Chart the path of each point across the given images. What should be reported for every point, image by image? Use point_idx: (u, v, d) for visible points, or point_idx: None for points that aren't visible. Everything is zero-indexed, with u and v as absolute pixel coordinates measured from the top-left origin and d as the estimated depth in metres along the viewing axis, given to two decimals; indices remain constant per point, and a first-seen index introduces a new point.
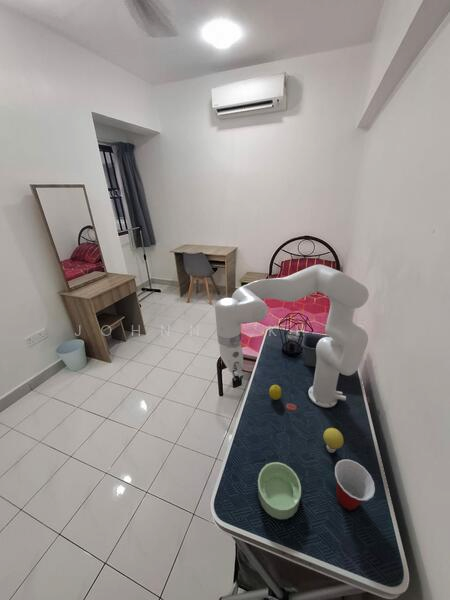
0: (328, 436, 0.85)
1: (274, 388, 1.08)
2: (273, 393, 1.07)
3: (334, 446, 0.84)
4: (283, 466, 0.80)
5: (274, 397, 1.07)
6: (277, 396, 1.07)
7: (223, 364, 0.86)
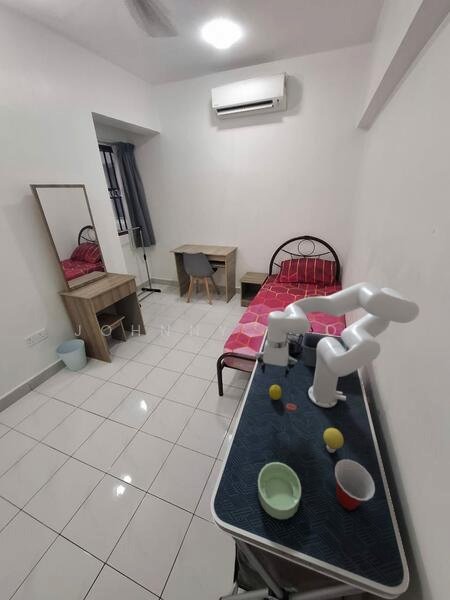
0: (328, 436, 0.85)
1: (274, 388, 1.08)
2: (273, 393, 1.07)
3: (334, 446, 0.84)
4: (283, 466, 0.80)
5: (274, 397, 1.07)
6: (277, 396, 1.07)
7: (264, 368, 1.03)
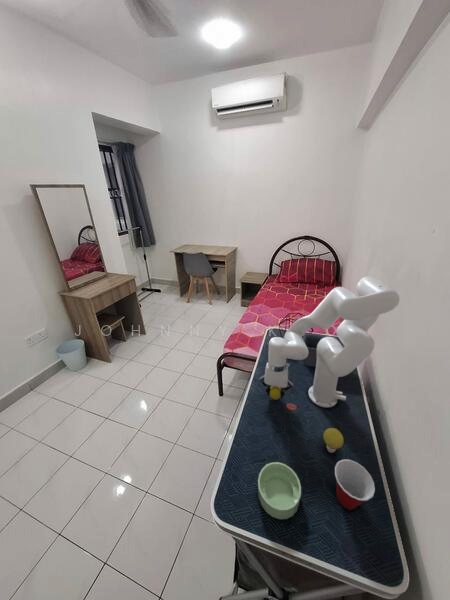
0: (328, 436, 0.85)
1: (274, 388, 1.08)
2: (273, 393, 1.07)
3: (334, 446, 0.84)
4: (283, 466, 0.80)
5: (274, 397, 1.07)
6: (277, 396, 1.07)
7: None
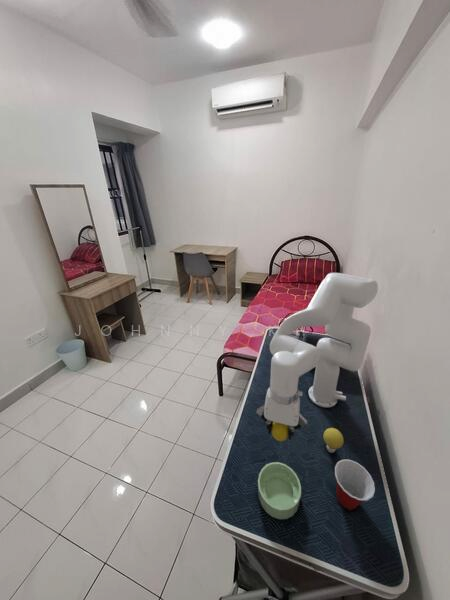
0: (328, 436, 0.85)
1: (278, 425, 0.73)
2: (277, 432, 0.73)
3: (334, 446, 0.84)
4: (283, 466, 0.80)
5: (279, 437, 0.73)
6: (283, 437, 0.73)
7: (270, 428, 0.75)
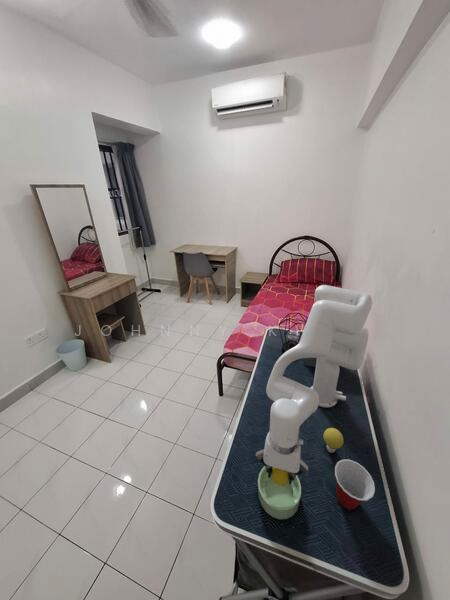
0: (328, 436, 0.85)
1: (279, 470, 0.70)
2: (277, 477, 0.70)
3: (334, 446, 0.84)
4: None
5: (279, 483, 0.70)
6: (283, 482, 0.70)
7: (270, 472, 0.72)
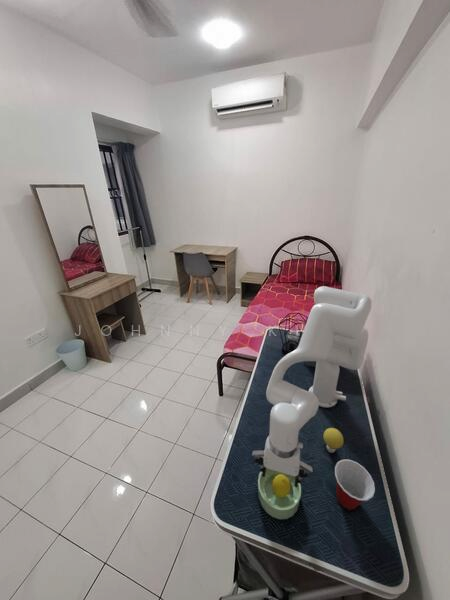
0: (328, 436, 0.85)
1: (281, 483, 0.74)
2: (279, 490, 0.73)
3: (334, 446, 0.84)
4: None
5: (280, 495, 0.73)
6: (284, 495, 0.73)
7: (265, 471, 0.73)
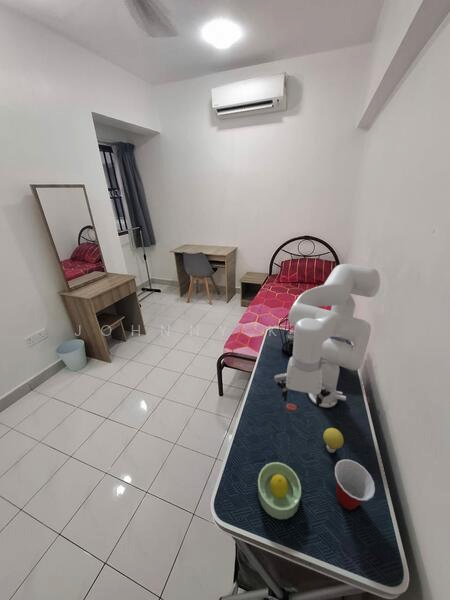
0: (328, 436, 0.85)
1: (277, 483, 0.74)
2: (276, 490, 0.73)
3: (334, 446, 0.84)
4: (283, 466, 0.80)
5: (278, 495, 0.74)
6: (282, 495, 0.73)
7: (286, 395, 0.75)
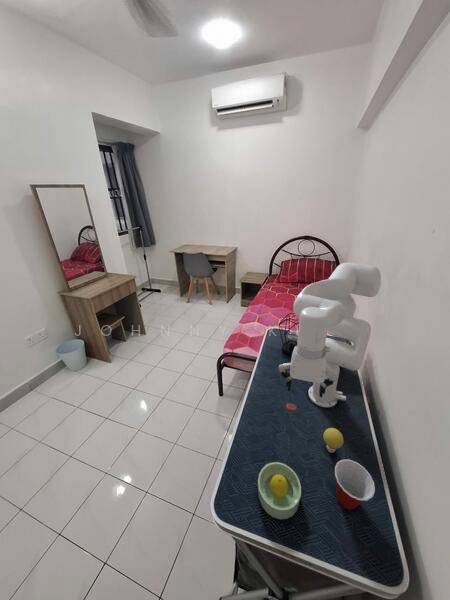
0: (328, 436, 0.85)
1: (277, 483, 0.74)
2: (276, 490, 0.73)
3: (334, 446, 0.84)
4: (283, 466, 0.80)
5: (278, 495, 0.74)
6: (282, 495, 0.73)
7: (290, 385, 0.77)
